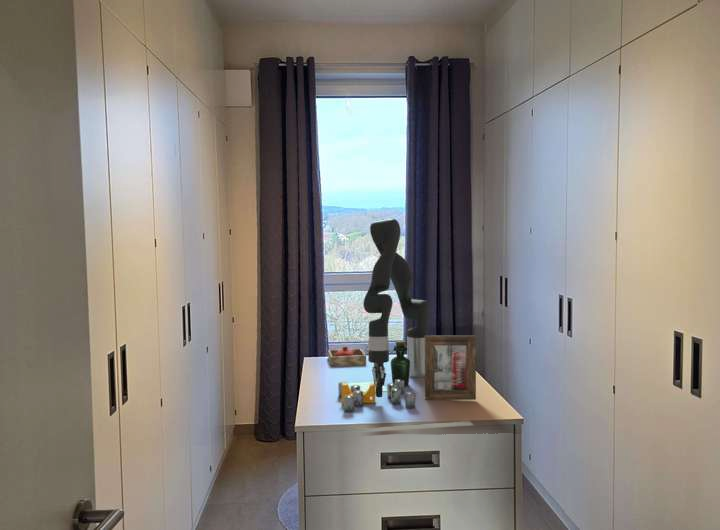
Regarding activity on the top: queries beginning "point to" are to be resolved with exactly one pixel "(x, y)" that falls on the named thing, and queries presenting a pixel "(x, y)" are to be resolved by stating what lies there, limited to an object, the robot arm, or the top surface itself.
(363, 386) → the pad
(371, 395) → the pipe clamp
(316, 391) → the top surface
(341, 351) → the butter dish
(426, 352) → the picture frame
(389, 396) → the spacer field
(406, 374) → the potion bottle
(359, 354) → the frame
